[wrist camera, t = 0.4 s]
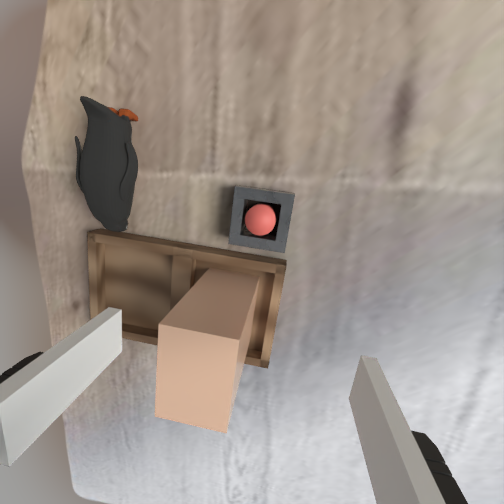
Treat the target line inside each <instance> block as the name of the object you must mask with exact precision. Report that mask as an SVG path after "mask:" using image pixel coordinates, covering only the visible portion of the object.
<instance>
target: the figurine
mask: <svg viewBox="0 0 504 504" xmlns="http://www.w3.org/2000/svg"><path fill="white" fill-rule="evenodd" d="M80 100H81V102H82V104H83V106H84V109H85V111H86V113H87V116H88V129H87V134H86V139H85V143H84V147H83V151H82V149H81V145H80V142H79V139H78V137H77V136H75V142H76V147H77V168H76V179H77V183H78V185H79V187H80V189H81V190H82V192H83V193H84V196H85V199H86V201H87V204H88V206H89V208H90V211H91V212H92V214H93V215H94V217H95V218H96V219H97V220H99V221H100V222H101V223H102V224H103V226H104V227H105V228H106V229H108V230H110V231H114V232H122V231H125V230H126V229H127V227H128V221H127V218H128V217H129V215H130V211H131V206H132V201H133V194H134V186H135V181H136V178H137V173H138V160H137V155H136V152H135V150H134V147H133V145H132V140H131V137H132V127H131V123H130V120H132V121H134V120H135V121H138V117H137V116H136V115H135V114H134V113H133V112H131V111H130V110H128V109H119V112H118V111H117V110H115V109H113V108H110V107H106V106H104V105H102V104H100V103H98V102H96V101H94V100H92V99H90V98H88V97H84V96H81V97H80Z"/></svg>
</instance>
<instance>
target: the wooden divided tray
mask: <svg viewBox="0 0 504 504" xmlns="http://www.w3.org/2000/svg"><path fill="white" fill-rule="evenodd" d="M87 242H88V268H89V294H90V320H91V319H93V318H94V317H96V316H97V315H98V314H100V313H101V312H103V311H104V310H105V309H107V308H108V307H111V308H116V309H121V310H122V338H125V339H130V340H134V341H139V342H144V343H149V344H153V345H158V327H159V323H160V322H161V321H162V320H163V319H164V317H165V316H166V315H167V314H168V313H169V312H170V311H171V310H172V309H173V308H174V306H175V305H176V304H177V303H178V302H179V301H180V300H181V299H182V298H183V297H184V295H185V294H186V293H187V292H188V291H189V290H190V289H191V288H192V287H193V286H194V285H195V283H196V282H197V281H198V280H199V279H200V278H201V277H202V276H203V275H204V274H205V272H206V271H207V270H208V269H209V268H213V269H219V270H225V271H230V272H236V273H242V274H247V275H253V276H259V277H260V278H259V284H258V291H257V297H256V304H255V310H254V317H253V323H252V330H251V337H250V342H249V346H248V350H247V354H246V358H245V362H244V364H249V365H254V366H258V367H263V368H268V365H269V359H270V354H271V348H272V343H273V337H274V332H275V326H276V320H277V315H278V309H279V304H280V298H281V293H282V287H283V282H284V276H285V270H286V261H287V260H283V259H277V258H271V257H265V256H259V255H253V254H247V253H241V252H235V251H230V250H224V249H218V248H212V247H206V246H200V245H194V244H188V243H182V242H176V241H170V240H165V239H159V238H153V237H147V236H141V235H135V234H129V233H123V232H114V231H110V230H105V229H97V230H93V231H89V232H87Z"/></svg>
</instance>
